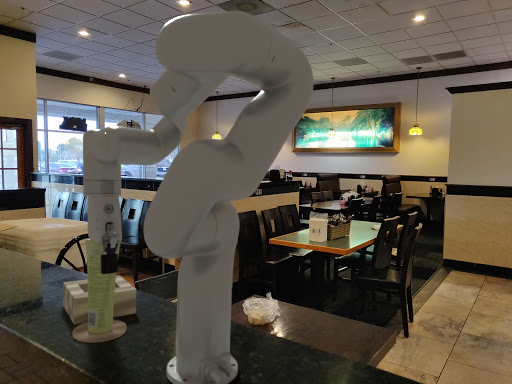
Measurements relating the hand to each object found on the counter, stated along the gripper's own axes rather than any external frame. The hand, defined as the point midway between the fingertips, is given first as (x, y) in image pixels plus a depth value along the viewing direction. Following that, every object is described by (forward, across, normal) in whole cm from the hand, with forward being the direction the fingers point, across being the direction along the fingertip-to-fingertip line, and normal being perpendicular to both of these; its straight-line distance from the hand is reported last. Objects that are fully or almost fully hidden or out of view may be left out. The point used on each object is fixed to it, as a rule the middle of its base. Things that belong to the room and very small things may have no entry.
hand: (103, 268), depth 83 cm
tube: (+14, 0, 0) cm, 14 cm away
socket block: (+14, +15, -3) cm, 20 cm away
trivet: (+14, +1, 0) cm, 14 cm away
